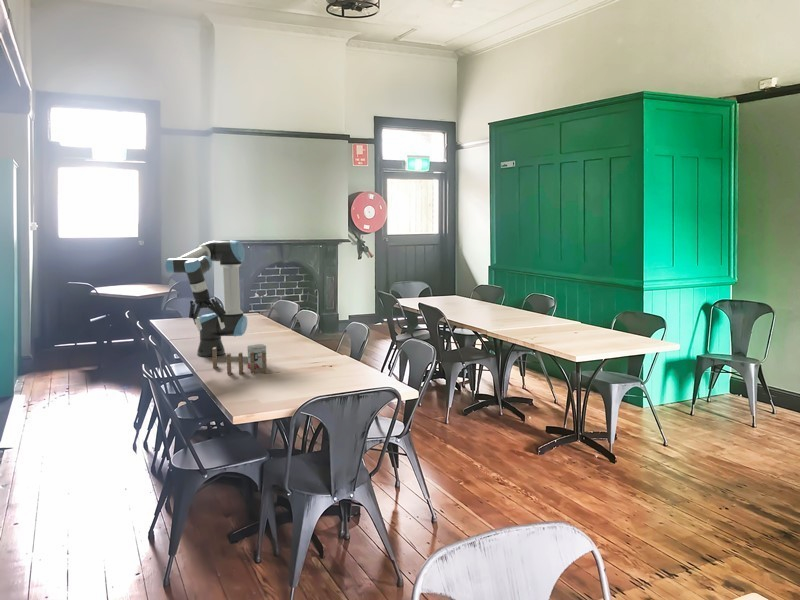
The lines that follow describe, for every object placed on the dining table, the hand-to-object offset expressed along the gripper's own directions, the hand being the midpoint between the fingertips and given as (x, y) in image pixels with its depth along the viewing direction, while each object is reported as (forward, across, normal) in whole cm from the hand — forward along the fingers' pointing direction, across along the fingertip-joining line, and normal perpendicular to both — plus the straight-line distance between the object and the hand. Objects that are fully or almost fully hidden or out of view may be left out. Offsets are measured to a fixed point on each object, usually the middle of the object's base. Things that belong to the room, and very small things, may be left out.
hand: (211, 329), depth 345 cm
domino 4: (+25, +24, -2) cm, 35 cm away
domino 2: (+22, +14, -6) cm, 27 cm away
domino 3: (+23, +19, -4) cm, 31 cm away
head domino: (+22, -6, +2) cm, 23 cm away
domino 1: (+21, +9, -9) cm, 25 cm away
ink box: (+26, +16, +6) cm, 31 cm away
